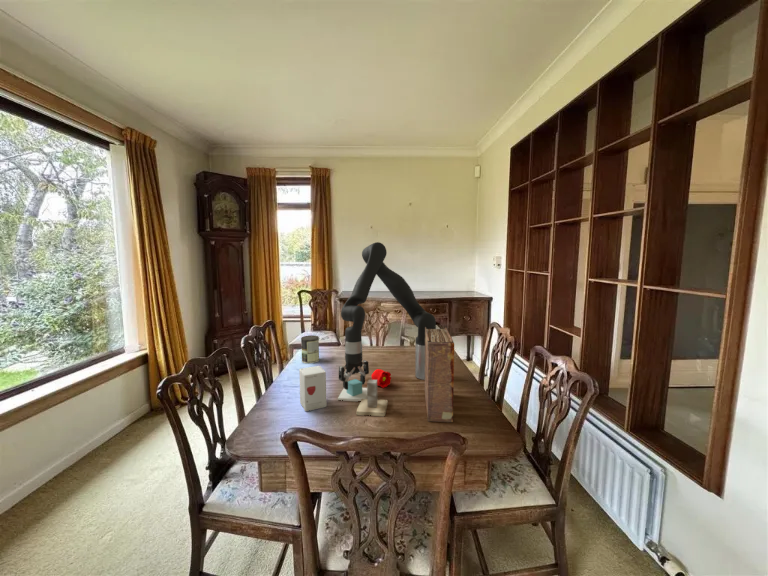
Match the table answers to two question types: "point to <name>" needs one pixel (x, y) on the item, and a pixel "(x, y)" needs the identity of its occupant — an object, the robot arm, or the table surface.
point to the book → (439, 375)
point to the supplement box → (312, 388)
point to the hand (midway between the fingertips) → (354, 386)
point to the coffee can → (310, 349)
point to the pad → (348, 397)
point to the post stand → (372, 402)
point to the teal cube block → (354, 387)
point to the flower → (381, 377)
